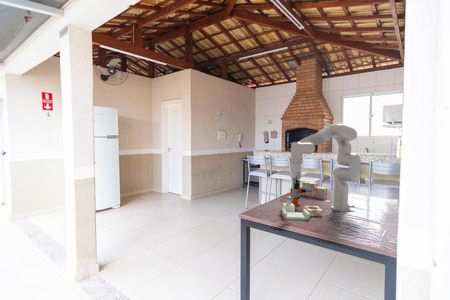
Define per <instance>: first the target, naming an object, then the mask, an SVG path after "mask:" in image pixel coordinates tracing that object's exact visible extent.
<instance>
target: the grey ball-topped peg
mask: <svg viewBox="0 0 450 300" xmlns="http://www.w3.org/2000/svg"><path fill="white" fill-rule="evenodd" d="M285 199H286V203H287V205H291V202H292V199H293V197H292V195H286V196H285Z"/></svg>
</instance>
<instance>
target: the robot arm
mask: <svg viewBox="0 0 450 300" xmlns="http://www.w3.org/2000/svg"><path fill="white" fill-rule="evenodd" d="M357 137H358V132H357V130H356V129H355V128H352V127H351V126H348V125H345V124H342V123H333V124H328V125H326V126H325V127H323V128H322V129H320V130H318V131H317V132H316V133H313V134H311V135H308V136H305V137H304V138H301V139H300V140H299V141H297V142H292V143H291V144H290V145H291V146H290V164H291V166H290V177H291V178H292V181H293V180H295V183H294V189H299V188H300V180H301V178H302V165H303V162H304V161H303V157H304V156H303V155H304V154H308V155H310V154H312V153H314V152H315V150H316V147H315V146H317V145H322V144H324V143H326V142H327V141H329V140H330V139H332V138H333V139H334V140H335V142H336V143H337V146H338V150H337V158H336V159H337V160H336V162H337V164H338V165H340V166H339V167H337V166H336V167H335V168H334V169H333V172H332V175H333V185H334V186H333V205H331V207H330V208H331V210H333V211H337V212H343V213H346V212H350V211H351V208H354V209H355V208H356V207H355V206H356V205H355V204H349V184H348V182H349V183H356V182H357V181H358V180H359V177H360V171H361V166H362V162H361V161H362V160H361V159H362V158H361V157H360V155H358V154H357V153H352V144H351V142H350V141H354V140H356V139H357ZM345 166H346V167H345ZM348 167H349V168H348ZM292 187H293V185H292V186H291V188H292Z"/></svg>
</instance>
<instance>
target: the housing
mask: <svg viewBox="0 0 450 300" xmlns="http://www.w3.org/2000/svg"><path fill="white" fill-rule="evenodd" d="M295 208H296V206H294V204H293V203H291V205H287V202H282V209H285V211H286V212H295V211H296V209H295Z"/></svg>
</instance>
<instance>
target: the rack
mask: <svg viewBox="0 0 450 300" xmlns="http://www.w3.org/2000/svg"><path fill="white" fill-rule="evenodd" d="M281 215H282V216H283V219H284V220H295V221H296V220H298V221H299V220H302V221H310V220H311V219H310V217H311V216H310V214H309V212H308V211H307V210H306V209H304V208H303V209H302V212H297V211H296V212H286V211H285V209H283V208H281Z"/></svg>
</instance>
